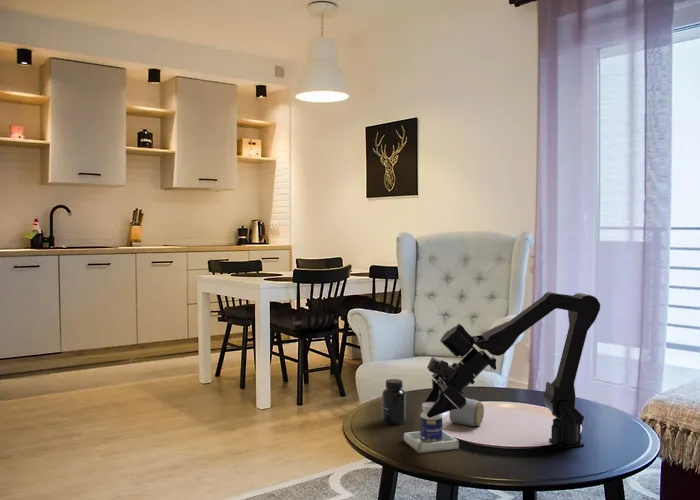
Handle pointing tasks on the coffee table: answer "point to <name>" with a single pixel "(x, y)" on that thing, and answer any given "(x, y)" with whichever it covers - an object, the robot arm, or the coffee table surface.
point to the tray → (446, 443)
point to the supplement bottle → (393, 403)
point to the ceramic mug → (468, 413)
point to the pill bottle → (430, 425)
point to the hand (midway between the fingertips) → (425, 411)
